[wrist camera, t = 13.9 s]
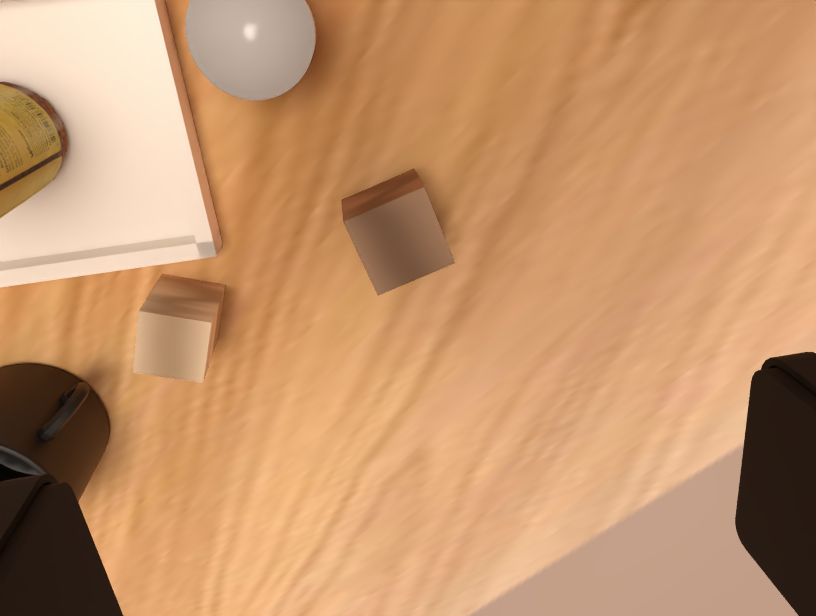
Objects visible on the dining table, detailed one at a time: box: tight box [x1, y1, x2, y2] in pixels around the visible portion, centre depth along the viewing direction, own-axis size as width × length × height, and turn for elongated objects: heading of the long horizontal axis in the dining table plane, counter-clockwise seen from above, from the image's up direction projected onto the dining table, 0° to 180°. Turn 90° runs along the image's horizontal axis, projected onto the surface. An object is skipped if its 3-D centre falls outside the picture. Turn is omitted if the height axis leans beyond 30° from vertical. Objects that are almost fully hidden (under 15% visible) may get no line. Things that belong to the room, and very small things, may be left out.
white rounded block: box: [185, 0, 316, 100], centre depth 35 cm, size 6×6×7 cm
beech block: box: [133, 274, 226, 383], centre depth 41 cm, size 4×4×6 cm
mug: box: [0, 364, 109, 501], centre depth 41 cm, size 9×12×9 cm
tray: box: [0, 0, 223, 287], centre depth 37 cm, size 20×16×2 cm
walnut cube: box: [342, 169, 455, 295], centre depth 41 cm, size 5×5×5 cm
